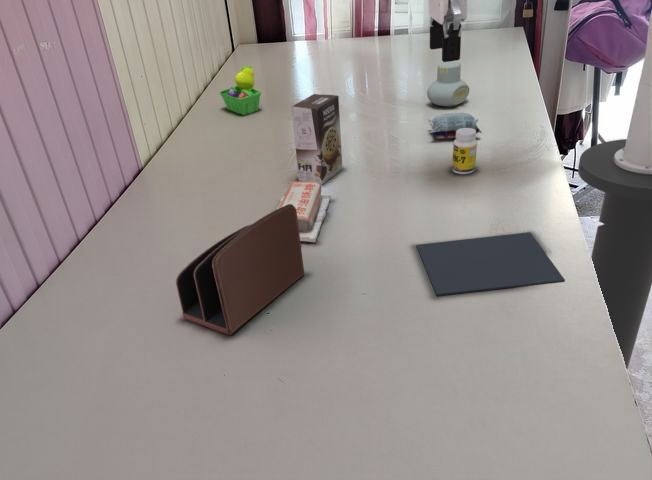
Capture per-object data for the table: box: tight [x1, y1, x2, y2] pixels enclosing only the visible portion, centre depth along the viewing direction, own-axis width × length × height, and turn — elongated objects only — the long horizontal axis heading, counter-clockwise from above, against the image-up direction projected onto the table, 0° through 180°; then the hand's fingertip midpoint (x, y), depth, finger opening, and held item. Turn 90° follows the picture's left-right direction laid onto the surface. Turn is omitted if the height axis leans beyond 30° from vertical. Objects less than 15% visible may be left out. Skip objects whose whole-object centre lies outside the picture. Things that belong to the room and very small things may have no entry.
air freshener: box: [426, 60, 470, 108], centre depth 167 cm, size 11×8×10 cm
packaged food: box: [427, 112, 482, 140], centre depth 150 cm, size 9×12×5 cm
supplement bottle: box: [451, 128, 478, 175], centre depth 132 cm, size 5×5×8 cm
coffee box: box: [291, 93, 343, 185], centre depth 135 cm, size 9×6×16 cm
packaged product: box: [275, 180, 331, 243], centre depth 122 cm, size 18×5×10 cm
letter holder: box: [175, 204, 305, 336], centre depth 100 cm, size 10×20×14 cm, turn 145°
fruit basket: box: [219, 65, 262, 116], centre depth 179 cm, size 11×9×11 cm
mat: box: [416, 231, 566, 297], centre depth 105 cm, size 20×16×1 cm
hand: (444, 54), depth 119 cm, fingers open, 9 cm apart
